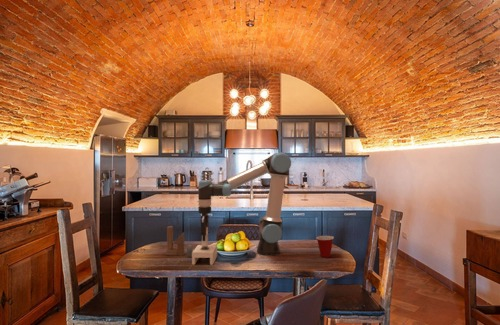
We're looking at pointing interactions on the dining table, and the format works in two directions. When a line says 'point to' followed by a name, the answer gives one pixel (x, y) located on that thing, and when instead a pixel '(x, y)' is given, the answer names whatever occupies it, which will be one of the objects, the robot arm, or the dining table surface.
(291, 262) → the dining table surface
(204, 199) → the robot arm
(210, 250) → the bridge
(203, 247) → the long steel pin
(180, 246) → the brown wooden bracket
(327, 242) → the plastic cup
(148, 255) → the dining table surface
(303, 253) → the dining table surface
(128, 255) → the dining table surface
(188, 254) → the short charcoal pin
